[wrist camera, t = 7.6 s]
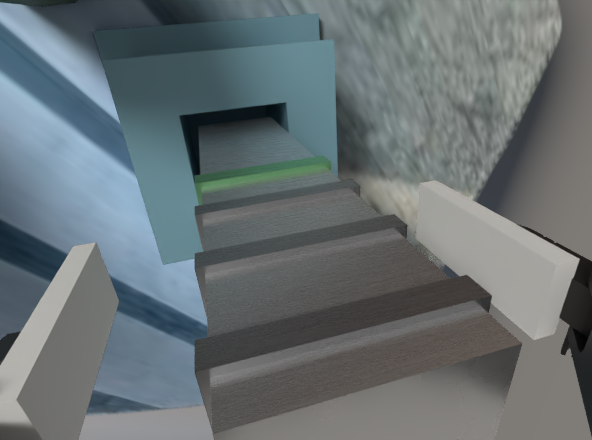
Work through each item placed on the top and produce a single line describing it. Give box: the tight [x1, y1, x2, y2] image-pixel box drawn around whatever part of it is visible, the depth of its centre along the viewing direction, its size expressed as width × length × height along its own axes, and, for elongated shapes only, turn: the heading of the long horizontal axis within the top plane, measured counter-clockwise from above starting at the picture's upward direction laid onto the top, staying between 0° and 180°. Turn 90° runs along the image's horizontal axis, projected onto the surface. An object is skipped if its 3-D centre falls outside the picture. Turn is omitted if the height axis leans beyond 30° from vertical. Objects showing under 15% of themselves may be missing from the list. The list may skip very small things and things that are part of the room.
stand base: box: [93, 13, 338, 265], centre depth 24 cm, size 18×18×21 cm
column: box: [195, 117, 522, 440], centre depth 16 cm, size 5×5×22 cm
